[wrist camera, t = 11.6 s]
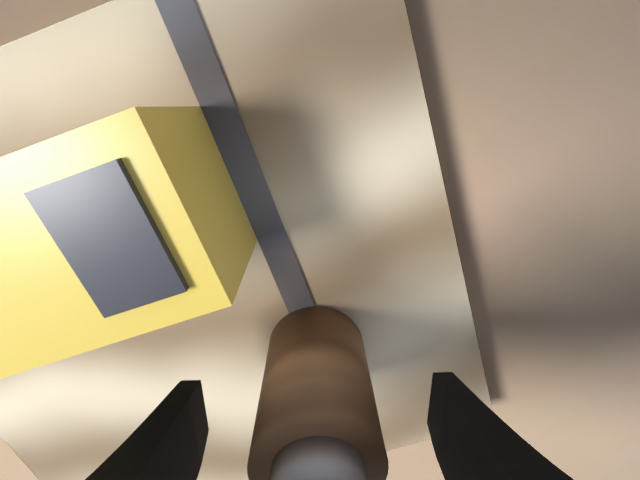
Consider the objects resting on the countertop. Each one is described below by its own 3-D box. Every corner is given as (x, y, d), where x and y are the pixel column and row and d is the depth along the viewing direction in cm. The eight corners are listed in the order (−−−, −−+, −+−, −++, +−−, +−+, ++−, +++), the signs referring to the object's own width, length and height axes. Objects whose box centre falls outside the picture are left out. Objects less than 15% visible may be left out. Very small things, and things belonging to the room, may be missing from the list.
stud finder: (-2, 181, 11) (-191, 227, 7) (200, 106, 11) (129, 106, 6) (76, 299, 13) (-40, 395, 9) (257, 239, 12) (229, 310, 8)
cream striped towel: (-203, 146, 12) (-261, 151, 11) (372, -86, 10) (381, -112, 9) (99, 505, 18) (84, 534, 17) (482, 400, 17) (496, 423, 15)
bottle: (249, 341, 14) (206, 506, 8) (323, 288, 13) (331, 429, 7) (310, 398, 15) (308, 579, 9) (381, 351, 14) (427, 518, 8)
